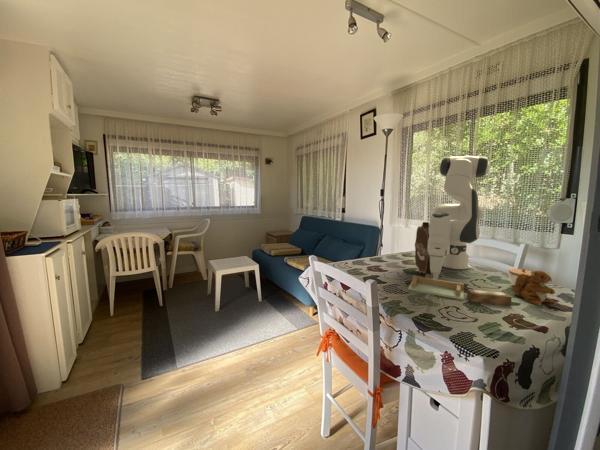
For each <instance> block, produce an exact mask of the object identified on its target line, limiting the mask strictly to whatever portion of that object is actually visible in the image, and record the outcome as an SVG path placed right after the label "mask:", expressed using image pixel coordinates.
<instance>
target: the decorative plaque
mask: <svg viewBox="0 0 600 450" xmlns="http://www.w3.org/2000/svg"><path fill="white" fill-rule="evenodd" d="M429 223H430V221H428V222H427V221H426V222H425V221H423V222H422V224H421V226H417V228H416V233H415V235H416V237H415V243H414V249H415V251H414V261H415V262H414V263H415V265H416V267H417V268H418V269H417V270H418V271H419V272H418V273H419V276H420V275H422V276H421V277H426V275H433V273H431V271H430V255H429V254H428V251H427V247H428V239H429Z"/></svg>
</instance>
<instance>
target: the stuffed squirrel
mask: <svg viewBox="0 0 600 450" xmlns="http://www.w3.org/2000/svg"><path fill="white" fill-rule="evenodd" d="M530 271H531V274H532V276H528V275H527V274H521V275H519V276H518V277H517V279H516V282H515V285H513V288H512V289H511V290H512V291H513V292H514V294H515V295H516V297H520V298H523V299H524V300H525V301H526V302H527V303H530V304H532V305H535V306H539V307H540V306H541V305H542V303H543V302H544V303H553V302H554V301H553V299H552V298H550V297H547V294H550V295H554V294H555V293H556V291H555V289H553V288H552V287H549V286H547V285H548V284H549V283H551V282H553V280H552V277H551V276H550V275H549V274H548V273H547V272H545V271H543V270H530Z"/></svg>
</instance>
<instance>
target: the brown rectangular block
mask: <svg viewBox="0 0 600 450" xmlns="http://www.w3.org/2000/svg"><path fill="white" fill-rule="evenodd" d="M466 293H467V294H466V298H467V299H468V300H469V301H470V302H472V303H481V304H490V305H500V306H512V300H513V299H512V296H511V295H510V294H509V293H507V292H504V291H494V290H492V291H491V290H484V289H483V290H481V289H473V288H467V292H466Z"/></svg>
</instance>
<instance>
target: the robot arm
mask: <svg viewBox="0 0 600 450" xmlns="http://www.w3.org/2000/svg"><path fill="white" fill-rule="evenodd" d="M438 168H439V173H440V175H441V176H444V177H445V180H444V184H443V189H444V192H445V193H446V194H447V195H448V196H449V197H451V199H453V200H454V201H457V202H459V203H442V204H438V205H437V206H435V208H434V209H433V214H431V216H430V219H429V239H428V247H427V251H428V254H429V255H430V271H431V273H432V276H433V278H432V279H433V280H435V281H438V280H439V277H440V274H441V271H442V267H443V268H447V269H454V270H469V269H470V270H471V269H473V268H472V265H470V263H469V261H470V260H469V257H470V255H469V253H467V248H468V247H467V244H472V243H474V242H476V241H477V240H478V239H479V237H480V233H481V232H480V226H479V225H480V224H479V221H481V220H482V219H483V217H484V214H485V213H484V208H483V207H482V206H481V205H480V204H479V197H478V192H477V190H476V189H475V188H474V184H475V179H476V178H482V177H484V176H486V174H487V173H488V171H489V169H490V162H489V159H488V157H486V156H482V155H480V156H474V155H464V156H463V155H462V156H460V155H459V156H446V157H444V158H442V159H441V162H440V164H439V167H438Z"/></svg>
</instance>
